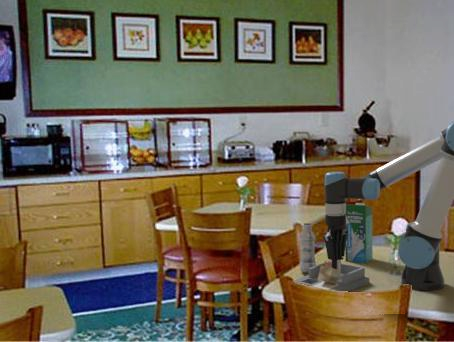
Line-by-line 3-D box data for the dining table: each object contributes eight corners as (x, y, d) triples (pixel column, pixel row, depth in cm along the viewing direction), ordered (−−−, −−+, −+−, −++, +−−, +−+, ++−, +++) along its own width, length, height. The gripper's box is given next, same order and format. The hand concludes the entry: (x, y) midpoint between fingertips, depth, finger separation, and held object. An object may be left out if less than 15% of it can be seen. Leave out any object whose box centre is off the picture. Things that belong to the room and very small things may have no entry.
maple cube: (336, 284, 212) (339, 271, 213) (328, 281, 209) (332, 267, 210) (324, 281, 216) (328, 268, 217) (317, 278, 212) (321, 265, 213)
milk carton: (372, 258, 254) (372, 202, 252) (365, 263, 247) (365, 205, 244) (352, 256, 259) (352, 200, 256) (345, 261, 251) (344, 203, 249)
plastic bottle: (312, 276, 231) (311, 226, 229) (297, 273, 234) (296, 225, 232) (319, 271, 236) (318, 223, 234) (303, 269, 240) (302, 222, 238)
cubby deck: (369, 282, 219) (369, 268, 219) (336, 297, 204) (335, 282, 203) (325, 273, 233) (325, 260, 233) (291, 286, 218) (290, 272, 217)
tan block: (337, 274, 225) (337, 261, 225) (331, 276, 222) (331, 263, 222) (328, 272, 228) (328, 259, 227) (322, 274, 225) (322, 262, 225)
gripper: (336, 210, 220) (337, 271, 223) (316, 215, 211) (317, 279, 214) (354, 212, 215) (354, 274, 218) (334, 218, 206) (335, 282, 208)
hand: (336, 276), depth 216 cm, fingers closed
